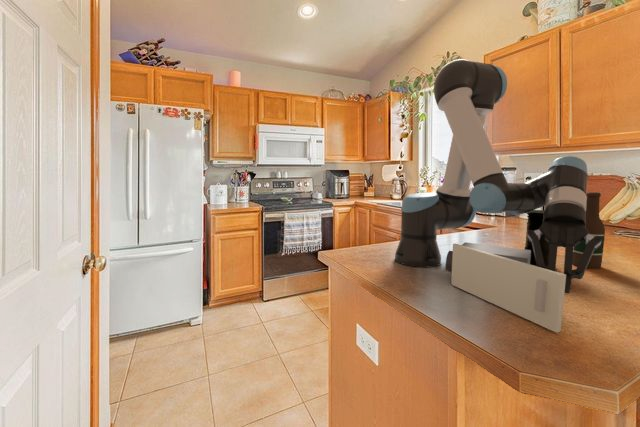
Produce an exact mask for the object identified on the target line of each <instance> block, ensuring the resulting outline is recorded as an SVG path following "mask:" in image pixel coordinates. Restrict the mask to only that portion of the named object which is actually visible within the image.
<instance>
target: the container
mask: <svg viewBox="0 0 640 427" xmlns="http://www.w3.org/2000/svg"><path fill="white" fill-rule="evenodd" d="M544 211H545V209H542V210H541V209H535V210H532V211H530V212H529V213H526V215H527V217H526V218H527V222H526V232H525V243H524V248H523V249H524V250H531V259H530V265H534V266H536V261H535V256H534V251H533V247H532V244H531V242H530V241H529V240H528V230H533V231H535V230H539V228H540V226H541V225H542V224H543V217H544ZM539 242H540V246H541V250H542V255H543V259H544V263H545V265H546V266H548V265H549V255H550V246H551V245H550V244H549V243H548V242H547V241H546V240H545V239H544V238H543V237H542V235H540V240H539Z"/></svg>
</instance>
